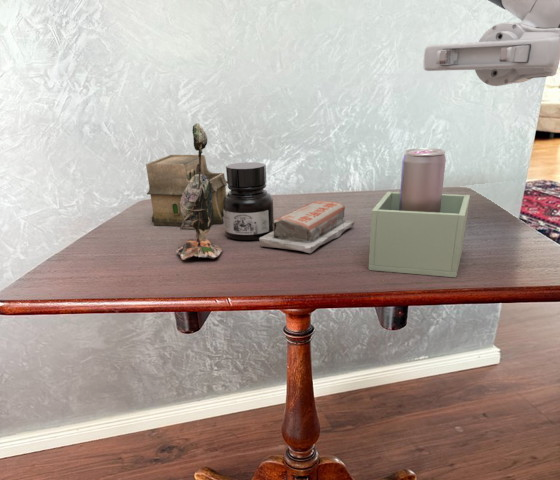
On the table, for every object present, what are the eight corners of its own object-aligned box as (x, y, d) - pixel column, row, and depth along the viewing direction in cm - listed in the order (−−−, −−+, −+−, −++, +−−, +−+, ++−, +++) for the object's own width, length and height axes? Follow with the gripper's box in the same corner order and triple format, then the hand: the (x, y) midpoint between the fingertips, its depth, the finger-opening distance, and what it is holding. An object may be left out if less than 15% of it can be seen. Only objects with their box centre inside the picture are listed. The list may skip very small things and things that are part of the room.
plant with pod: (229, 242, 95) (220, 117, 85) (217, 263, 85) (205, 125, 75) (184, 243, 96) (169, 118, 86) (167, 263, 86) (148, 126, 76)
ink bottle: (216, 240, 97) (209, 169, 91) (233, 227, 104) (228, 160, 98) (268, 243, 94) (265, 170, 88) (281, 229, 102) (279, 161, 96)
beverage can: (389, 251, 86) (396, 149, 78) (424, 247, 87) (433, 146, 79) (406, 263, 80) (414, 155, 73) (442, 258, 82) (454, 152, 74)
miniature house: (141, 228, 106) (131, 166, 100) (170, 210, 117) (163, 154, 112) (213, 230, 102) (207, 166, 96) (236, 212, 114) (232, 154, 108)
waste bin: (462, 251, 87) (470, 195, 83) (456, 277, 77) (464, 215, 72) (383, 245, 91) (387, 191, 87) (368, 270, 81) (371, 210, 76)
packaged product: (307, 196, 103) (355, 201, 99) (307, 222, 105) (354, 227, 101) (257, 219, 90) (310, 225, 85) (258, 247, 92) (310, 255, 88)
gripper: (444, 36, 92) (407, 35, 83) (575, 27, 81) (550, 25, 71) (440, 78, 95) (404, 82, 86) (566, 75, 84) (540, 79, 74)
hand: (472, 56), depth 78 cm, fingers open, 8 cm apart
